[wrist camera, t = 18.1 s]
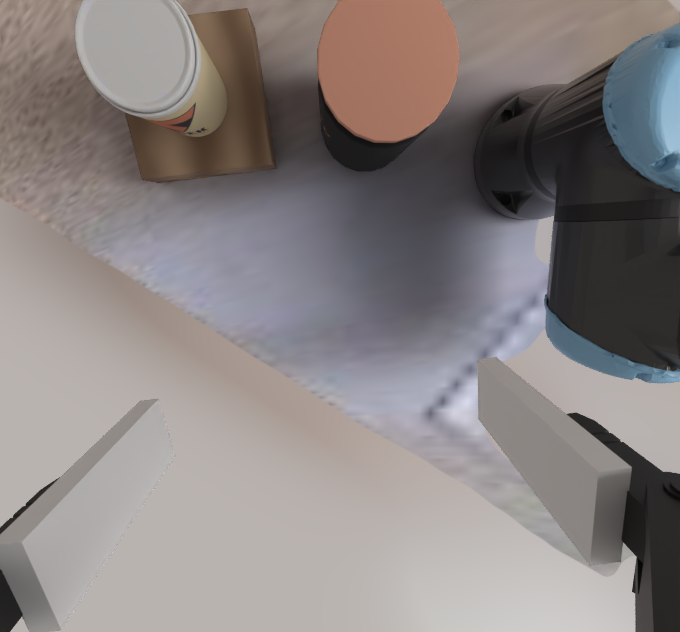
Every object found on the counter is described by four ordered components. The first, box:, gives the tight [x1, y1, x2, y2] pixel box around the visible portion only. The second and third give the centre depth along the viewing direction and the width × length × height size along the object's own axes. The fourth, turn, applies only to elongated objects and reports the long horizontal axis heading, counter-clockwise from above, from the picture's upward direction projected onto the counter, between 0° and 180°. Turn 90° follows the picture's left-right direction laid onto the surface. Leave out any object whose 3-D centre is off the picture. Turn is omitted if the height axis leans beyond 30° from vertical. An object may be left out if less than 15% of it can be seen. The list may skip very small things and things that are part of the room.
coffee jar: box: [317, 0, 459, 171], centre depth 35 cm, size 11×11×18 cm
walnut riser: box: [125, 8, 276, 183], centre depth 40 cm, size 15×15×4 cm
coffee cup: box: [75, 0, 227, 137], centre depth 32 cm, size 9×9×12 cm
